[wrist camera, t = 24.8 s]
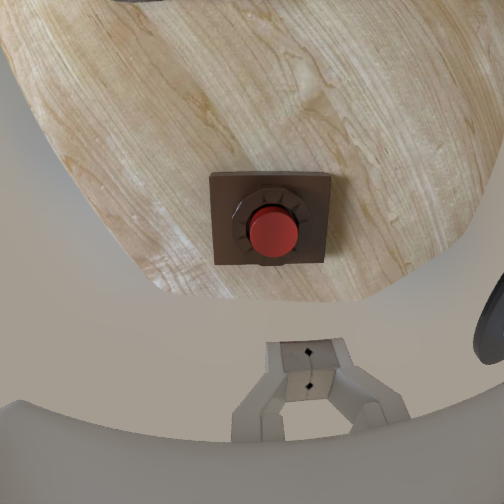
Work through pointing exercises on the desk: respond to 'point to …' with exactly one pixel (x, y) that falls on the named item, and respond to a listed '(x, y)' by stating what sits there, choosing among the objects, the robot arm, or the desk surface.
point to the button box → (264, 195)
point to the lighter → (136, 0)
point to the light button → (273, 231)
